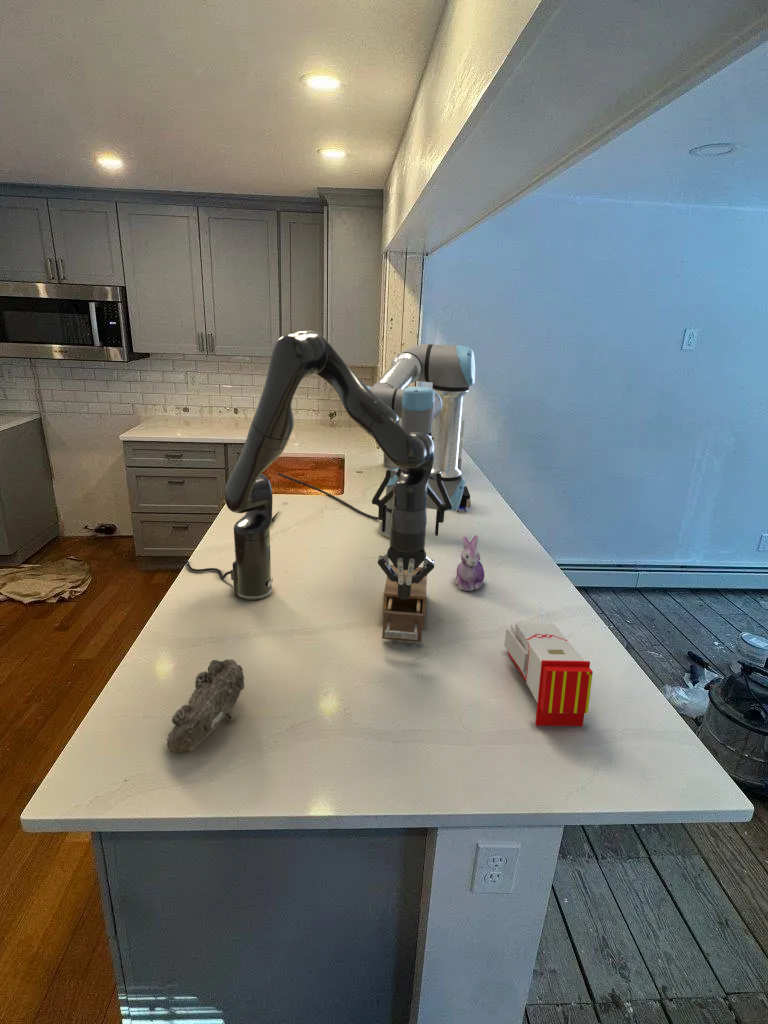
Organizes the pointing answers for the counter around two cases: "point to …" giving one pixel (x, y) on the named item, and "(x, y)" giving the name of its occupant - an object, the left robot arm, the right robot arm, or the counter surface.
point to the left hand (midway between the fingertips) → (403, 597)
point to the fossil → (206, 705)
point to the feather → (274, 517)
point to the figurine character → (465, 500)
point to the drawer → (402, 620)
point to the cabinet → (416, 593)
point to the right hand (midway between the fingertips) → (410, 532)
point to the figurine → (470, 566)
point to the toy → (551, 672)
